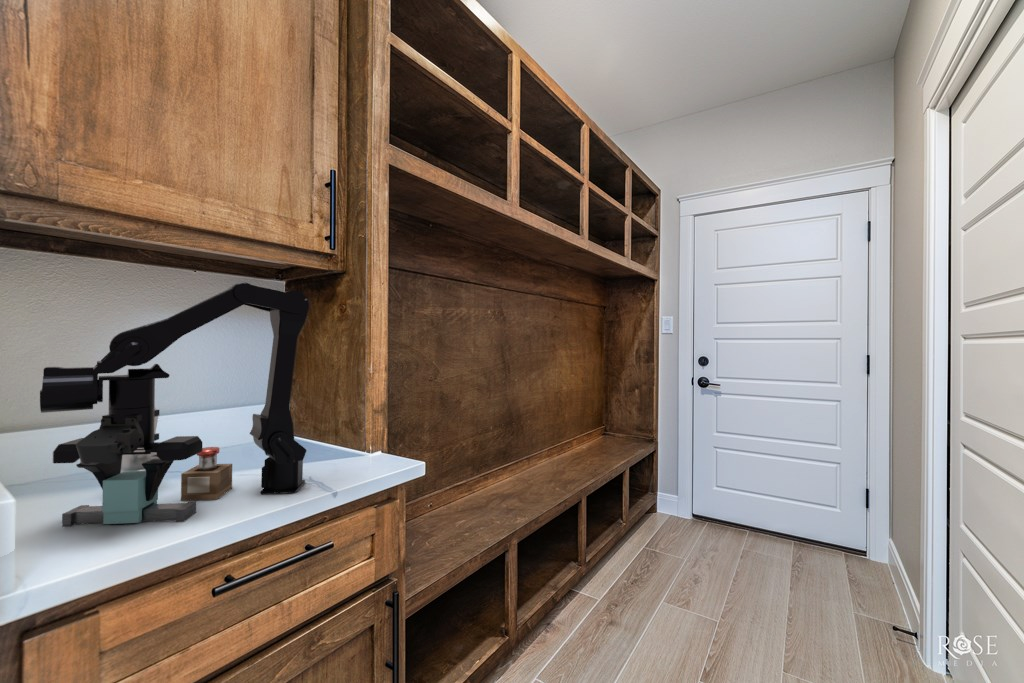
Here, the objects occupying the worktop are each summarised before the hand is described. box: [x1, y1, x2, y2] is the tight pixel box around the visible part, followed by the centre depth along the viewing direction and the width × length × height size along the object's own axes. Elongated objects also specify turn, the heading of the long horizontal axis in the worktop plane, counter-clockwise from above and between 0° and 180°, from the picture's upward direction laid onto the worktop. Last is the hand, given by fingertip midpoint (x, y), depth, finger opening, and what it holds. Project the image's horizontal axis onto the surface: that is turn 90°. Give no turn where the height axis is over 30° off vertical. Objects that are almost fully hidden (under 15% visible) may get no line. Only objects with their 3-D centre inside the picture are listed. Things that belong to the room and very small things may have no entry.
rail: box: [61, 500, 197, 528], centre depth 72 cm, size 17×4×2 cm, turn 99°
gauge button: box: [196, 446, 220, 471], centre depth 84 cm, size 4×4×6 cm
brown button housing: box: [180, 463, 233, 502], centre depth 84 cm, size 6×6×5 cm
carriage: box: [101, 471, 159, 525], centre depth 72 cm, size 5×5×7 cm
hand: (131, 501), depth 72 cm, fingers closed on carriage, 5 cm apart
